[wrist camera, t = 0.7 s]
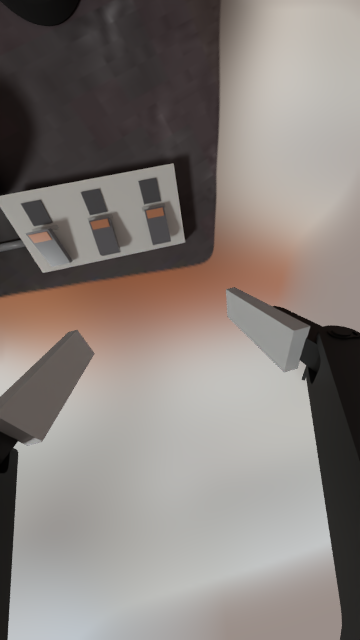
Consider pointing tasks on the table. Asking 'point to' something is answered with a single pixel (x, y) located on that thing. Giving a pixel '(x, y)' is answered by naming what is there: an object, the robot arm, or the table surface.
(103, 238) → the rocker
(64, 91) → the table surface
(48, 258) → the rocker
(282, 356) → the robot arm
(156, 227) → the rocker
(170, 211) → the power strip
